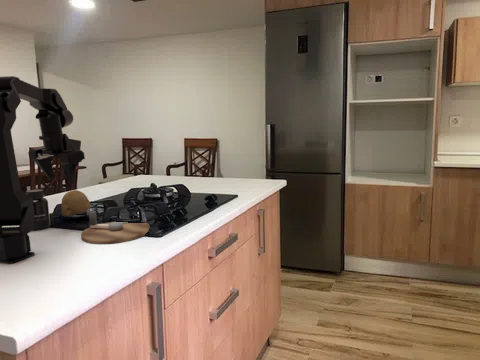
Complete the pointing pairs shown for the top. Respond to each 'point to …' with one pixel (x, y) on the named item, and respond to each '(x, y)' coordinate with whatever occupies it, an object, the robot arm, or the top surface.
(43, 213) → the supplement bottle
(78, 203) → the natural sponge
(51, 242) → the top surface
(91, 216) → the multicoloured piece
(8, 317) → the top surface
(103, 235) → the round wooden board
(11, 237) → the robot arm
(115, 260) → the top surface
